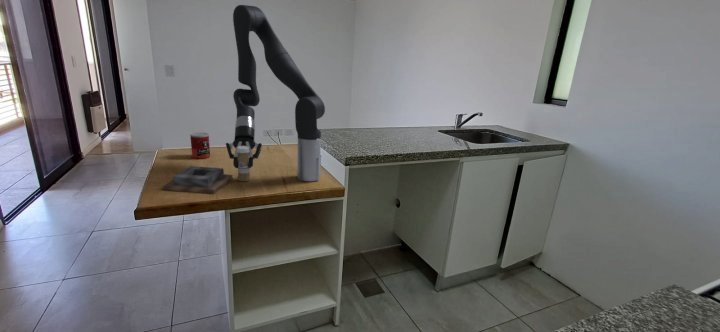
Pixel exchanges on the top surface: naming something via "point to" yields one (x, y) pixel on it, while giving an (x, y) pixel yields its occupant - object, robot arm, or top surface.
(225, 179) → the socket board
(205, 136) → the canned food
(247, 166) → the sprinkles bottle
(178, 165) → the top surface
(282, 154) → the top surface
